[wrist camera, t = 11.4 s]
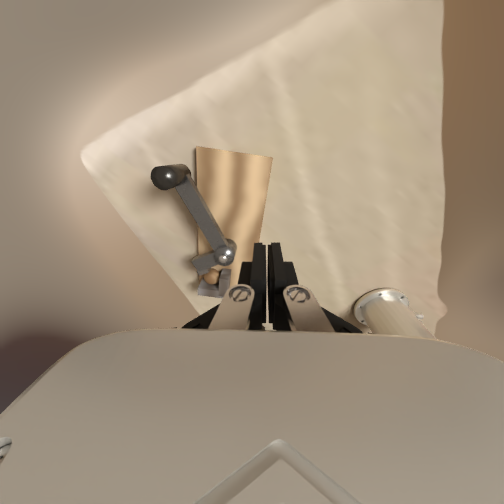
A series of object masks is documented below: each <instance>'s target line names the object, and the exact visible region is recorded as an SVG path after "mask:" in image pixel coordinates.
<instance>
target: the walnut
mask: <svg viewBox="0 0 504 504" xmlns="http://www.w3.org/2000/svg"><path fill="white" fill-rule="evenodd" d="M219 278H220V273H219V272H218V271H217V270H216V269H213V268H211V269H210V271H209V272H208V273H206V274H204V280H205V281H206V282H207V283H208V284H215V283H217V282H218V281H219Z"/></svg>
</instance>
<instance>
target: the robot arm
mask: <svg viewBox="0 0 504 504" xmlns="http://www.w3.org/2000/svg"><path fill="white" fill-rule="evenodd" d="M267 282H268V310H269V323H273V330H277V331H269V330H260V329H262V323H266V245H262V243H254V249H253V259H252V262H242V264H241V269H240V274H239V279H238V284H237V285H234V286H232V287H230V288H229V289H228V290H227V291H226V293H225V295H224V297H223V299H222V301H221V303H220V304H219V305H217V306H215V307H214V308H212V309H210V310H209V311H207V312H205V313H204V314H202V315H200V316H198V317H197V318H195V319H194V320H192V321H190V322H188V323H187V324H186V325H184V326H183V327H182V328H180V329H179V328H177V327H174V328H158V329H135V330H126V331H120V332H115V333H111V334H108V335H104V336H100V337H98V338H95V339H92V340H90V341H87V342H85V343H83V344H81V345H79V346H77V347H75V348H74V349H72V350H71V351H70V352H68V353H67V354H65V356H63V357H62V358H60V359H59V360H58V361H57V362H56V363H54V364H53V365H52V366H51V367H50V368H49V369H48V370H47V371H45V372H44V373H43V374H42V375H41V376H40V377H39V378H38V379H37V380H36V381H34V382H33V383H32V384H31V385H30V386H29V387H28V388H27V389H26V390H25V391H24V392H23V393H22V394H21V395H20V396H19V397H18V398H17V399H16V400H15V401H14V402H13V403H12V404H11V405H10V406H9V407H8V408H7V409H6V410H5V411H4V412H3V413H2V414H0V504H504V362H502V361H500V360H498V359H496V358H494V357H491V356H489V355H487V354H485V353H482V352H479V351H476V350H474V349H470V348H467V347H464V346H461V345H457V344H454V343H450V342H446V341H441V340H437V339H436V338H435V337H434V335H433V334H432V333H431V332H430V331H429V330H428V329H427V328H426V327H425V326H424V325H423V322H422V321H421V320H418V319H423V314H421V313H414V312H413V311H412V310H411V309H410V308H409V300H408V298H407V297H406V296H405V295H404V294H403V293H402V292H401V291H399V290H396V289H391V288H383V289H377V290H374V291H371V292H369V293H367V294H365V295H364V296H362V297H361V298H360V299H359V300H358V301H357V303H356V304H355V306H354V315H355V317H356V319H357V320H358V321H359V322H360V323H362V324H364V325H367V326H369V328H370V330H371V331H372V333H369V332H368V334H364V333H363V332H362V331H360V330H359V329H358V328H356V327H355V326H353V325H351V324H349V323H348V322H346V321H344V320H343V319H341V318H339V317H338V316H336V315H334V314H333V313H331V312H329V311H327V310H326V309H324V308H322V307H321V306H320V305H319V303H318V301H317V300H316V298H315V296H314V294H313V293H312V292H311V290H309V289H308V288H306V287H304V286H301V285H299V284H298V280H297V276H296V273H295V269H294V266H293V262H283V257H282V252H281V247H280V243H271V245H268V277H267Z"/></svg>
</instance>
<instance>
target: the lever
mask: <svg viewBox="0 0 504 504" xmlns="http://www.w3.org/2000/svg"><path fill="white" fill-rule="evenodd" d="M151 180H152V182H153V184H154V185H155V186H156V187H157V188H159V189H161V190H168V189H171V188H174V187H175V188H176V190H177V192H178V193H179V195H180V196H181V198H182V200H183V201H184V203H185V205H186V206H187V208H188V209H189V211H190V213H191V214H192V216H193V218H194V219H195V221H196V222H197V224H198V226H199V227H200V229H201V231H202V232H203V234H204V236H205V237H206V239H207V240H208V242H209V244H210V245H211V247H212V249H213V250H212V251H209V252H207V253H204V254H202V255H199V256H197V257H194V258H193V259H192V261H191V262H192V263H193V265H194V266H195V268H196V269H197V273H198V274H199V276H200V275H203V274H206V273H208V272H209V271H210V269H211V267H213V266H216V265H221V266H229V265H231V264H232V263H233V261H234V257H235V254H236V250H237V245H236V243H235V242H234V241H233V240H231V239H226V238H225V237H224V235H223V233H222V231H221V229H220V228H219V226H218V224H217V222H216V220H215V219H214V217H213V215H212V213H211V212H210V210H209V208H208V206H207V204H206V203H205V201H204V199H203V197H202V195H201V194H200V192H199V190H198V188H197V187H196V185H195V183H194V181H193V179H192V178H191V172H190V170H189V168H188V167H187V166H186V165H183V164H176V165H167V166H158V167H155V168H154V169H153V170H152V172H151Z"/></svg>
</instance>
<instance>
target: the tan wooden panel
mask: <svg viewBox="0 0 504 504" xmlns="http://www.w3.org/2000/svg"><path fill="white" fill-rule="evenodd" d="M272 160H273V158H272V157H265V156H258V155H252V154H245V153H238V152H231V151H225V150H218V149H211V148H204V147H197V146H196V161H197V188H198V190H199V192H200V194H201V195H202V197H203V199H204V201H205V203H206V204H207V206H208V208H209V210H210V212H211V213H212V215H213V217H214V219H215V220H216V222H217V224H218V226H219V228H220V229H221V231H222V233H223V235H224V237H225V238H226V239H231V240H233V241H234V242H235V243H236V245H237V250H236V254H235V257H234V261H233V263H232V264H231V265H229V266H221V265H216V266H213V267H211V268H213V269H216V270H217V271H218V272H219V273H220V278H219V281H218V282H217V283H215V284H208V283H207V282H206V281H205V280H204V274H203V275H200V276H199V287H198V295H202V296H209V297H217V298H223V297H224V295H225V293H226V291H227V290H228V289H229V288H230V287H232V286H234V285H237V284H238V279H239V274H240V269H241V264H242V262H252V259H253V249H254V243H259V239H260V233H261V227H262V220H263V214H264V208H265V202H266V196H267V190H268V184H269V178H270V172H271V166H272ZM212 250H213V249H212V247H211V245H210V244H209V242H208V240H207V239H206V237H205V236H204V234H203V232H202V231H201V229H200V227H199V226H198V256H199V255H202V254H204V253H207V252H209V251H212Z"/></svg>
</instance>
